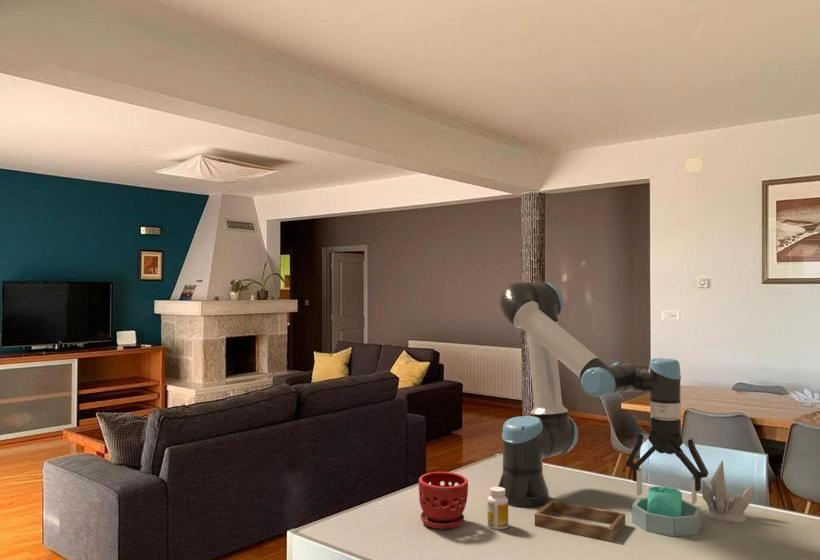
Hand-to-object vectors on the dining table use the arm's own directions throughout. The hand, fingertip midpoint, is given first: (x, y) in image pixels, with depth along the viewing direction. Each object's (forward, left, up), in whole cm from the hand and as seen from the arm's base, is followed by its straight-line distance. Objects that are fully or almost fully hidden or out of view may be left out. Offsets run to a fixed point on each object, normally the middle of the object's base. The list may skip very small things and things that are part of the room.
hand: (666, 498), depth 166 cm
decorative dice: (0, 0, -6) cm, 6 cm away
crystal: (+13, +16, -7) cm, 22 cm away
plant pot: (-50, -31, -7) cm, 59 cm away
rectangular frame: (-19, -13, -7) cm, 24 cm away
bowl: (0, 0, -7) cm, 7 cm away
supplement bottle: (-37, -25, -7) cm, 45 cm away
